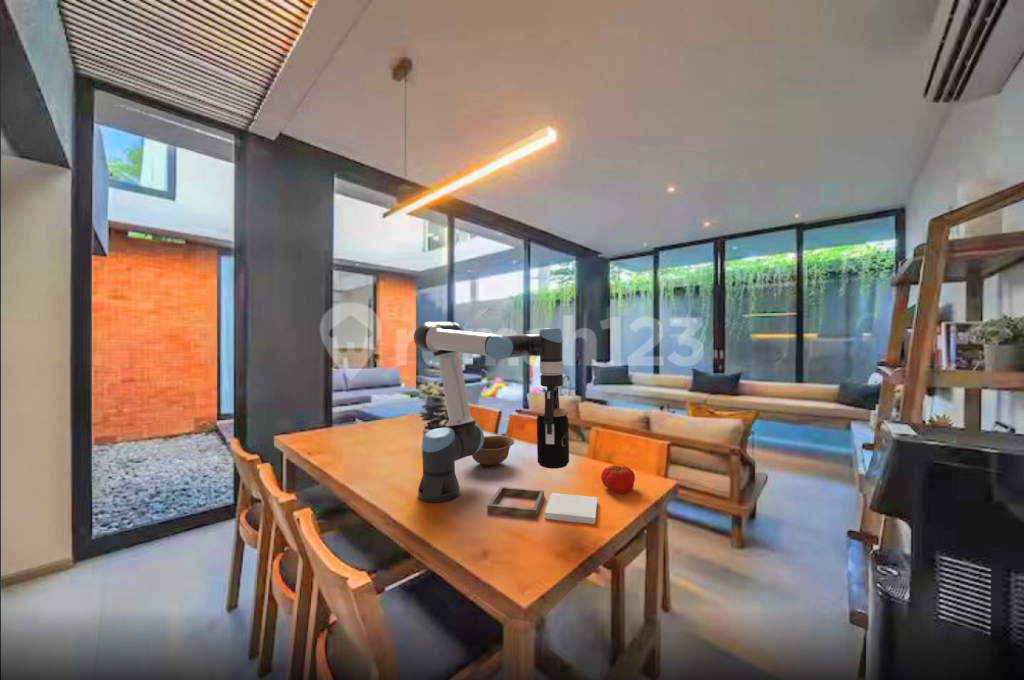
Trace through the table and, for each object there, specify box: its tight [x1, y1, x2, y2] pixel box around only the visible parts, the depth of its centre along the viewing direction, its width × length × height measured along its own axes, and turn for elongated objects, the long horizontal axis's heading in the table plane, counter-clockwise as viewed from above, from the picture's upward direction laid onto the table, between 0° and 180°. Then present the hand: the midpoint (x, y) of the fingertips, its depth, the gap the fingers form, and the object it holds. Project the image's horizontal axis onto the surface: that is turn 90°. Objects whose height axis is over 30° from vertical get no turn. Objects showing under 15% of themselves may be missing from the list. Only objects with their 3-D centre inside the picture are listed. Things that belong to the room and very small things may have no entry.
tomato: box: [600, 465, 636, 494], centre depth 155 cm, size 14×13×9 cm
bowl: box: [471, 435, 515, 469], centre depth 184 cm, size 22×22×11 cm
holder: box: [486, 485, 545, 519], centre depth 143 cm, size 16×16×2 cm
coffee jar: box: [536, 407, 570, 470], centre depth 139 cm, size 11×11×18 cm
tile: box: [544, 492, 598, 525], centre depth 139 cm, size 16×16×2 cm
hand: (552, 439), depth 139 cm, fingers closed on coffee jar, 11 cm apart
